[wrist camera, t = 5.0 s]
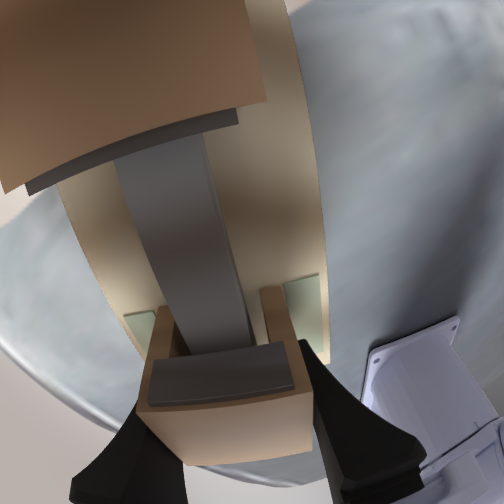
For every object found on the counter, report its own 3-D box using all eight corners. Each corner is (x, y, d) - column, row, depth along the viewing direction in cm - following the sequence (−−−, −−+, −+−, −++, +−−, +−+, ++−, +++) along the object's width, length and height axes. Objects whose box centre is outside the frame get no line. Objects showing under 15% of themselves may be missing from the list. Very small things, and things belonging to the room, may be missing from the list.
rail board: (325, 351, 17) (359, 441, 11) (169, 382, 16) (162, 473, 11) (267, -30, 7) (314, -123, 1) (38, 44, 7) (-67, 32, 1)
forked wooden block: (289, 360, 15) (311, 450, 10) (190, 375, 14) (187, 465, 10) (279, 279, 12) (313, 385, 7) (156, 301, 12) (131, 407, 7)
